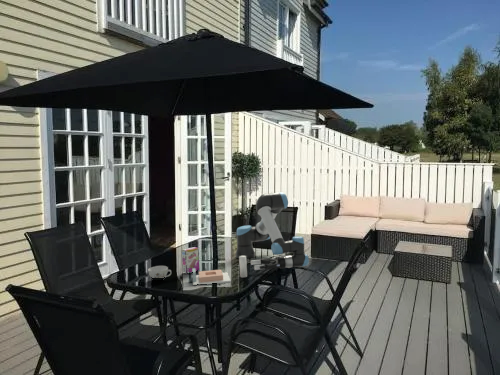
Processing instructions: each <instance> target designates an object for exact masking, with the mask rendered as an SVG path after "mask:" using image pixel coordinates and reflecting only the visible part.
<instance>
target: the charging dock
mask: <svg viewBox="0 0 500 375" xmlns="http://www.w3.org/2000/svg"><path fill="white" fill-rule="evenodd" d="M192 272H193V273H192V285H197V284H207V285H213V284H212V283H217V284H225V283H226V284H227V283H231V282H232V281H231V278H230V276H229V273H228V272H227V271H226V272H223V271H222V269H213V270H212V269H211V270H202V271H200V270H199V271H198V274H197V273H196V269H195V268H192ZM197 286H198V285H197Z"/></svg>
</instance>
